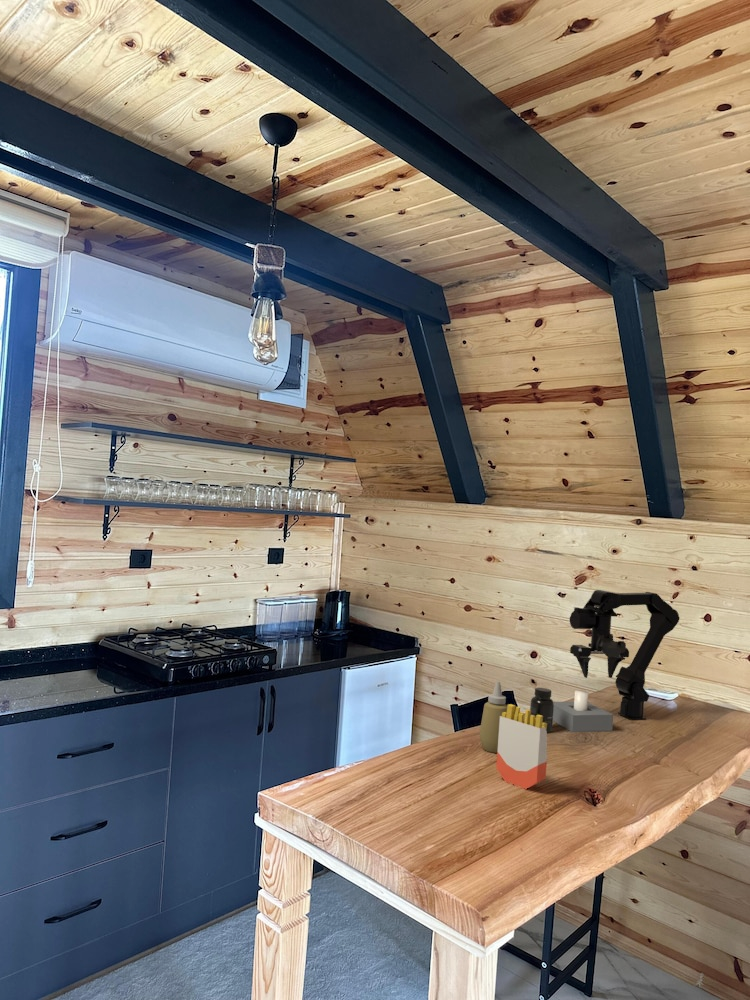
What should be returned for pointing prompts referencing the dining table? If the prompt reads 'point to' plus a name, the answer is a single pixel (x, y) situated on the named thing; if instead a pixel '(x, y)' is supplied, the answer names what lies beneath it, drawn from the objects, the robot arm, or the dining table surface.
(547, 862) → the dining table surface
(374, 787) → the dining table surface
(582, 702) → the peg
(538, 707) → the supplement bottle
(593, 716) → the socket block
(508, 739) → the french fries container
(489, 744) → the squeeze bottle
